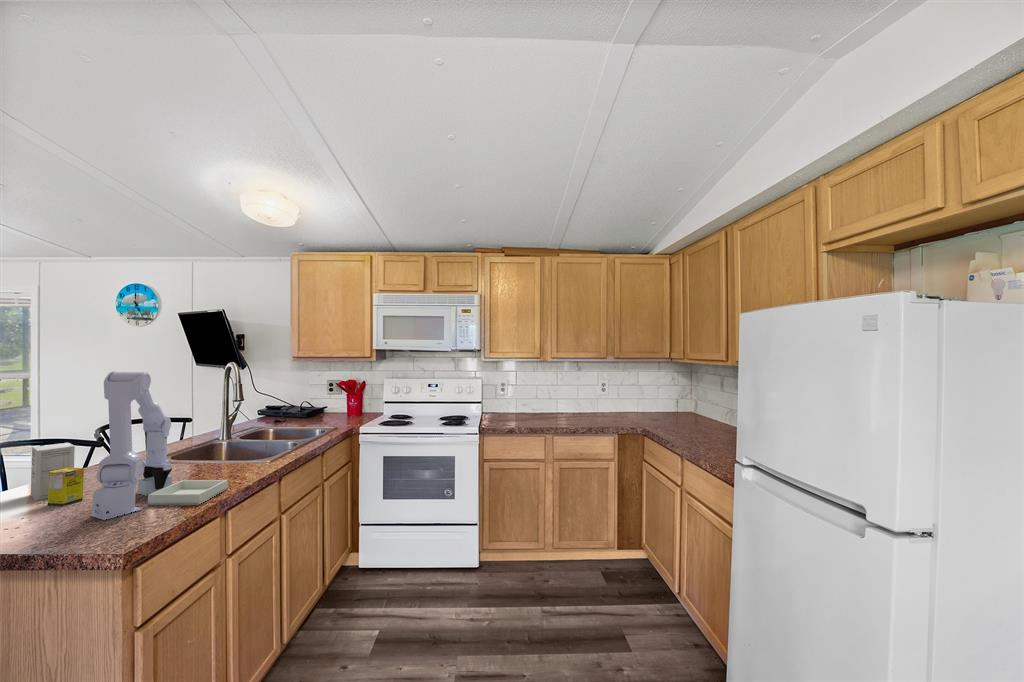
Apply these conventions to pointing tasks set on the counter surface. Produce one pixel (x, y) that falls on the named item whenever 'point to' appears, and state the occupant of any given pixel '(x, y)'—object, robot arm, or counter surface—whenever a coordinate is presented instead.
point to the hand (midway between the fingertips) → (155, 487)
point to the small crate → (151, 485)
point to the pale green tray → (188, 492)
